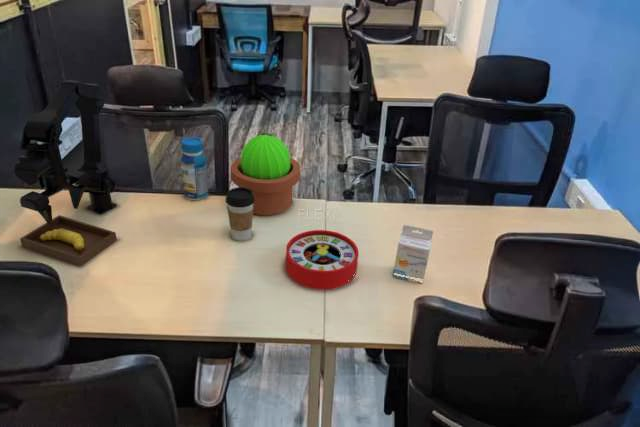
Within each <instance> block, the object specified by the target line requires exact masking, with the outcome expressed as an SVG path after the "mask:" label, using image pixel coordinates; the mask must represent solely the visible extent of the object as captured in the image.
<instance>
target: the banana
mask: <svg viewBox="0 0 640 427" xmlns="http://www.w3.org/2000/svg"><path fill="white" fill-rule="evenodd" d="M38 240H39V241H46V240H61V241H64V242H67V243H70V244H73V245H74V248H75V249H76V250H79V252H80V251H82V249H83V248H84V239H83V238H82V236H81V235H80V234H78V233H75V232H72V231H69V230H66V229H55V230H53V231H47V232H46V233H45V234H42V235H41V236H40V237H39V238H38Z"/></svg>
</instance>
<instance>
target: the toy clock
mask: <svg viewBox="0 0 640 427" xmlns="http://www.w3.org/2000/svg"><path fill="white" fill-rule="evenodd" d="M339 253H340V254H339ZM358 260H359V248H358V246H357V244H356V243H355V242H354V241H353V240H352V239H351V238H350V237H348V236H346V235H344V234H342V233H339V232H337V231H332V230H325V229H314V230H312V229H311V230H307V231H303V232H300V233H299V234H296V235H294V236H292V238H291V239H290V240H289V241H288V242H287V244H286V248H285V272H286V273H287V276H289V278H290V279H291V280H292V281H293V282H295V283H296V284H298V285H300V286H302V287H305V288H308V289H311V290H319V291H329V290H335V289H339V288H342V287H345V286H346V285H348V284H349V283H351V282H352V281H353V280H354V279H355V277H356V275H357V270H358V262H359V261H358ZM355 272H356V273H355ZM354 274H355V275H354ZM353 275H354V276H353ZM348 280H349V281H348Z"/></svg>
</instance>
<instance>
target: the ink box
mask: <svg viewBox="0 0 640 427" xmlns="http://www.w3.org/2000/svg"><path fill="white" fill-rule="evenodd" d="M417 231H418V232H419V233H418V232H417ZM433 234H434V231H433V230H431V229H426V228H422V227H418V226H413V225H408V224H403V225H402V231H401V234H400V237H399V241H398V244H397V250H396V255H395V261H394V267H393V272H394V273H397V274H401V275H405V276H409V277H415V278H420V279H425V275H426V271H427V267H428V262H429V257H430V252H431V249H432V248H431V247H432V243H433V241H432V239H433ZM392 277H393V278H396V279H400V280H404V281H408V282H412V283H415V284H416V283H417V284H419V283H418V282H419V281H416V280H415V281H414V279H410V278H406V277H401V276H397V275H394V274H393V273H392Z"/></svg>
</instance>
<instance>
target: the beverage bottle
mask: <svg viewBox="0 0 640 427" xmlns="http://www.w3.org/2000/svg"><path fill="white" fill-rule="evenodd" d="M180 144H181V151H182V152H183V153H182V154H181V157H180V163H181V166H180V170H181V173H182V174H181V175H182V183H183V195H184V197H185V198H186V199H187V200H190V201H199V200H203V199H205V198H207V197H208V196H209V193H210V192H209V182H208V164H207V157H206V155H205V153H204V152H203V151H204V142H203V139H202V138H200V137H198V136H190V137H189V136H188V137H186V138H183V139H182V140H181V143H180Z"/></svg>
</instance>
